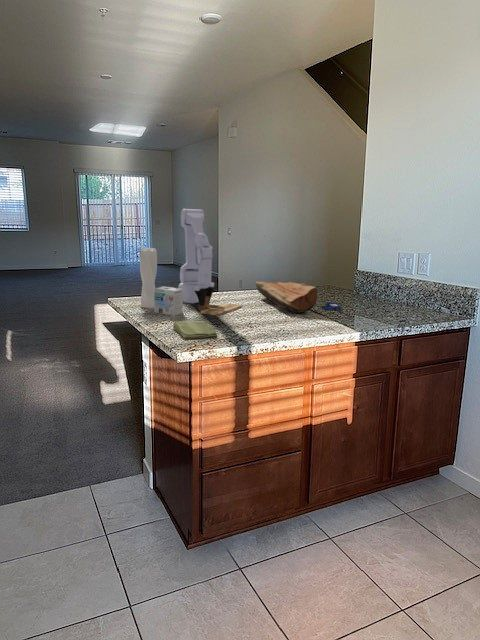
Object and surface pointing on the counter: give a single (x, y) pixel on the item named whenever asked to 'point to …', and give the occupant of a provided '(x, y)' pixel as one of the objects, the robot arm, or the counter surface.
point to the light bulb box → (168, 301)
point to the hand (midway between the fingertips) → (204, 304)
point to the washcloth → (194, 330)
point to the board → (219, 312)
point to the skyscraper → (148, 276)
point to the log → (289, 295)
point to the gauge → (210, 305)
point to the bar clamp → (333, 307)
